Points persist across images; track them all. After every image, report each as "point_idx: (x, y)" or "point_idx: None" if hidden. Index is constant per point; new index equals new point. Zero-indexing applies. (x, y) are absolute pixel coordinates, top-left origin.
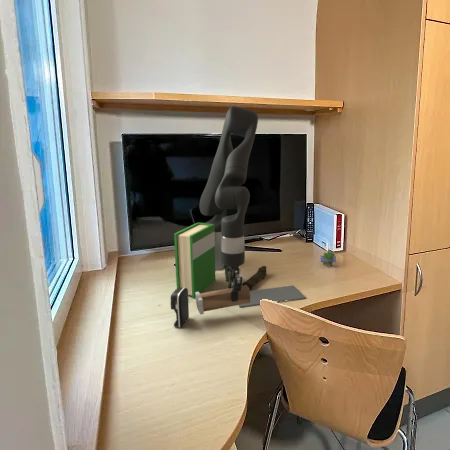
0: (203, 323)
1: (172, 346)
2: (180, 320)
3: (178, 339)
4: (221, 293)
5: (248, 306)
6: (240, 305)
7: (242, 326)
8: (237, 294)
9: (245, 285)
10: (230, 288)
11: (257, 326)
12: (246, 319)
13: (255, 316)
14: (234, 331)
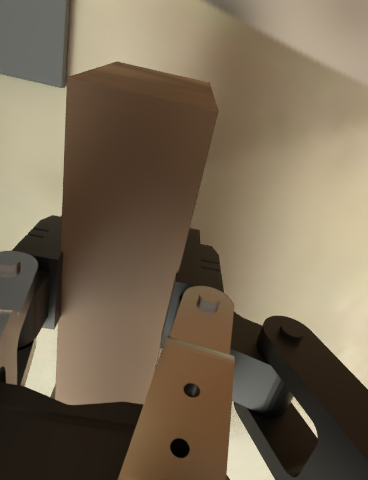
0: (160, 349)
1: (259, 472)
2: None
3: (228, 450)
4: (136, 399)
5: (69, 9)
6: (49, 79)
7: (299, 202)
8: (221, 284)
9: (67, 101)
10: (70, 304)
11: (361, 116)
12: (241, 136)
13: (240, 49)
14: (315, 263)
